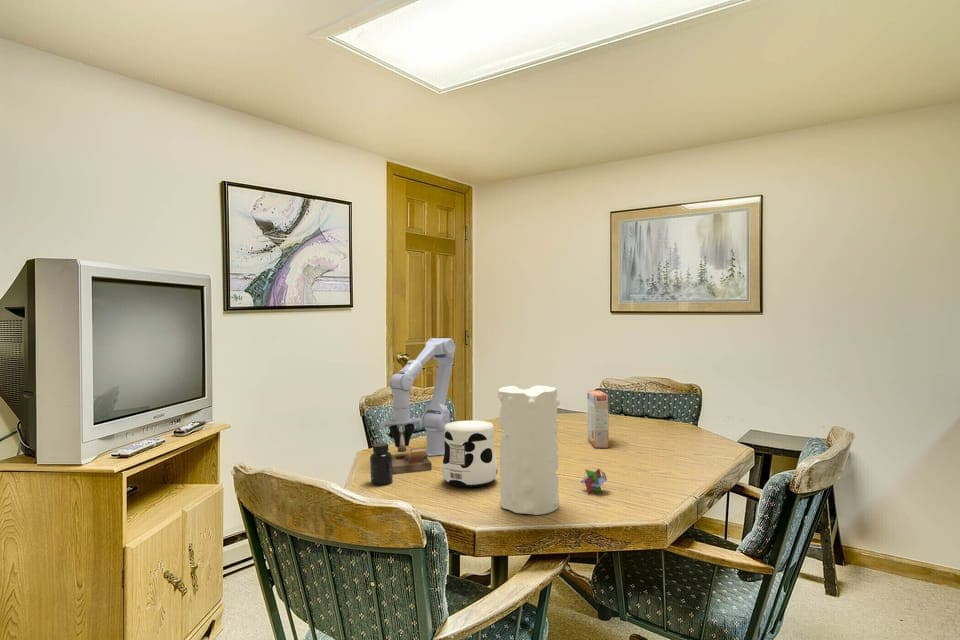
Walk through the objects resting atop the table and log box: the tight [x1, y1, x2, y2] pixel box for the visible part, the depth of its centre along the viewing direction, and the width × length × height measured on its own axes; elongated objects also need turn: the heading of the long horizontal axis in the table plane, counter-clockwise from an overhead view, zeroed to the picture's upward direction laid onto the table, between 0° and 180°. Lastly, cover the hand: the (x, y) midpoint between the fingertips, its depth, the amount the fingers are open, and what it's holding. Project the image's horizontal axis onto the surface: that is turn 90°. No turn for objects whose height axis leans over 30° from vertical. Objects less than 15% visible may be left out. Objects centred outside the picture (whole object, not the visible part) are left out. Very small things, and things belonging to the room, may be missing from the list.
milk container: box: [441, 420, 498, 488], centre depth 168 cm, size 17×17×18 cm
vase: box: [497, 384, 561, 516], centre depth 146 cm, size 17×16×32 cm
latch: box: [409, 447, 427, 460], centre depth 185 cm, size 5×6×1 cm
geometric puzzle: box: [580, 468, 608, 494], centre depth 157 cm, size 7×7×8 cm
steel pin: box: [397, 430, 407, 453], centre depth 191 cm, size 3×3×7 cm
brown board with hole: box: [391, 452, 433, 475], centre depth 188 cm, size 14×16×4 cm
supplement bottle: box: [369, 442, 394, 487], centre depth 169 cm, size 7×7×12 cm
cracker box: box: [586, 390, 610, 449], centre depth 216 cm, size 14×6×21 cm, turn 179°
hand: (401, 446), depth 190 cm, fingers closed on steel pin, 3 cm apart
